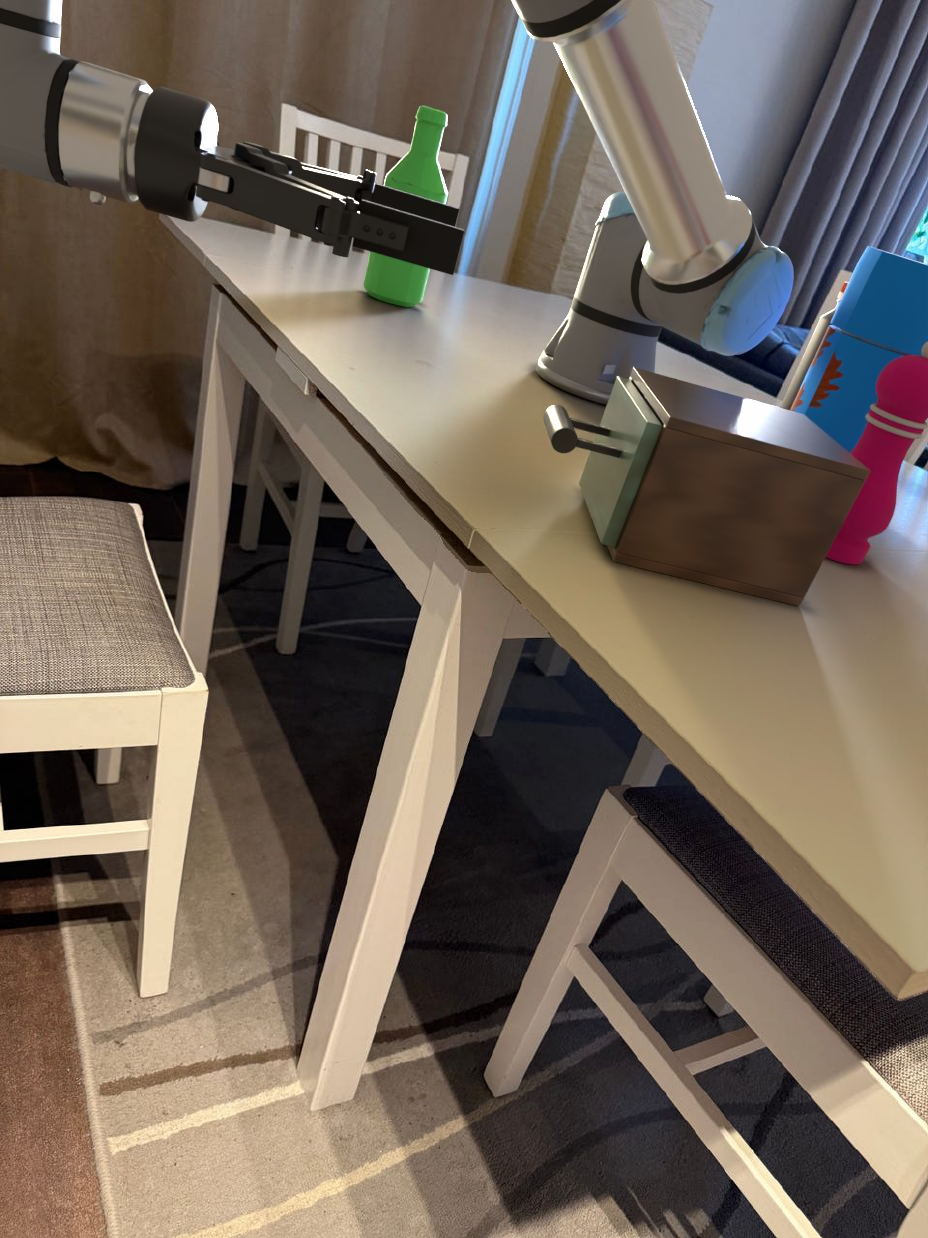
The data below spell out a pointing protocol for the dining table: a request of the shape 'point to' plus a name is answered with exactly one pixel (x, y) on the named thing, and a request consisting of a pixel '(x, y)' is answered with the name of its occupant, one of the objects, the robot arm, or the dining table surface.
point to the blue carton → (865, 343)
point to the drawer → (610, 454)
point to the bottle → (418, 178)
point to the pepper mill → (884, 452)
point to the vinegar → (810, 354)
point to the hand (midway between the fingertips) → (457, 238)
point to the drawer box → (736, 492)
